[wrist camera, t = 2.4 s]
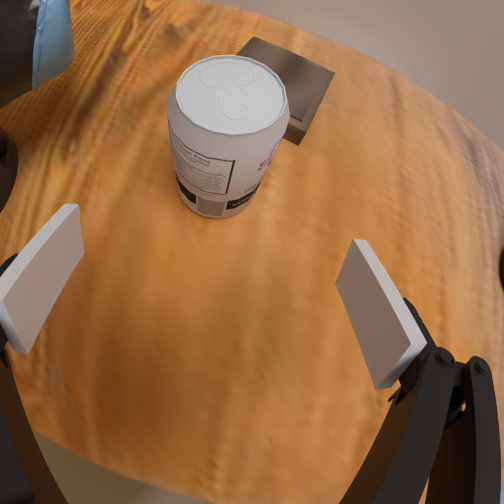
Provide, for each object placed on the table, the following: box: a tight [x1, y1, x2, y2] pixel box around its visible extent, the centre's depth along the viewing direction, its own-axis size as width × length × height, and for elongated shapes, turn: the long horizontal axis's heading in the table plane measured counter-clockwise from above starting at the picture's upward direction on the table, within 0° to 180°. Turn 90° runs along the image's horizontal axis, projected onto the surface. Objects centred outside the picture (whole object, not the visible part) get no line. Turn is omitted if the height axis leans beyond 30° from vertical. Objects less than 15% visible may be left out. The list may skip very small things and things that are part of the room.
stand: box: [236, 36, 335, 145], centre depth 34 cm, size 12×12×3 cm
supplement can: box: [167, 55, 290, 219], centre depth 24 cm, size 8×8×15 cm
